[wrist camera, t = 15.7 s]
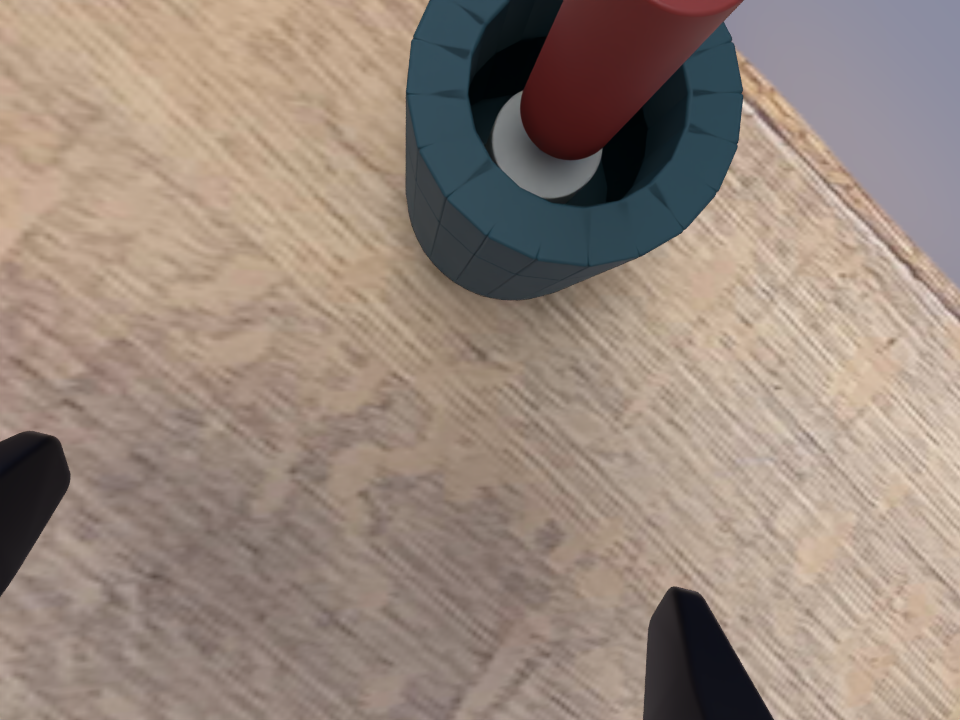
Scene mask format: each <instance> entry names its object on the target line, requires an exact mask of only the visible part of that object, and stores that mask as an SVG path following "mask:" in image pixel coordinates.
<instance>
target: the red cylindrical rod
mask: <svg viewBox="0 0 960 720" xmlns="http://www.w3.org/2000/svg"><path fill="white" fill-rule="evenodd" d="M742 2H743V0H563V2H562V5H561V7H560V9H559V11H558V14H557V16H556V18H555V20H554V23H553V25H552V27H551V29H550V32H549V34H548V36H547V38H546V40H545V43H544V45H543V47H542V49H541V52H540V54H539V56H538V58H537V61H536V63H535V65H534V67H533V70H532V72H531V74H530V76H529V79H528V81H527V83H526V85H525V87H524V90H523V91H521V92H519V93H517V94H516V95H514V96H513V97H511V98H510V99H509V100H508V101H507V102H506V103H505V104H504V106H503V107H502V108H501V110H500V111H499V113H498V115H497V117H496V119H495V122H494V125H493V127H492V130H491V132H490V135H489V138H488V140H487V143H486V145H485V148H486V150H487V152H488V153H489V155H490V157H491V159H492V161H493V162H494V163H495V164H496V165H497V166H498V167H499V168H500V169H501V170H502V171H504V172H505V173H506V174H507V175H508V176H509V177H510V178H511V179H512V180H513V181H514V182H515V183H516V184H517V185H518V186H519V187H521V188H523V189H525V190H527V191H529V192H531V193H533V194H535V195H537V196H539V197H541V198H543V199H546V200H548V201H550V202H552V203H560V204H566V203H567V202H568V201H569V200H570V199H571V198H572V197H573V196H574V195H575V194H576V193H577V192H578V191H579V190H580V189H581V188H583V187H584V186H585V185H586V184H587V183H588V182H589V180H590V179H591V178H592V177H593V175H594V174H595V172H596V170H597V168H598V166H599V163H600V160H601V156H602V148H603V147H604V146H605V145H606V144H607V143H608V142H609V141H610V140H611V139H612V138H613V137H614V136H615V134H616V133H617V132H618V131H619V130H620V129H621V128H622V127H623V126H624V125H625V124H626V123H627V122H628V121H629V120H630V119H631V118H632V117H633V116H634V115H635V114H636V113H637V111H638V110H639V109H640V108H641V107H642V106H643V105H644V104H645V103H646V102H647V101H648V100H649V99H650V98H651V97H652V96H653V95H654V94H655V93H656V92H657V91H658V89H659V88H660V87H661V86H662V85H663V84H664V83H665V82H666V81H667V80H668V79H669V78H670V77H671V76H672V75H673V74H674V73H675V72H676V71H677V70H678V69H679V67H680V66H681V65H682V64H683V63H684V62H685V61H686V60H687V59H688V58H689V57H690V56H691V55H692V54H693V53H694V52H695V51H696V50H697V49H698V48H699V47H700V46H701V44H702V43H703V42H704V41H705V40H706V39H707V38H708V37H709V36H710V35H711V34H712V33H713V32H714V31H715V30H716V29H717V28H718V27H719V26H720V25H721V24H722V22H723V21H724V20H725V19H726V18H727V17H728V16H729V15H730V14H731V13H732V12H733V11H734V10H735V9H736V8H737V7H738V6H739V5H740V3H742Z"/></svg>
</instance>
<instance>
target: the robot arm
mask: <svg viewBox="0 0 960 720" xmlns="http://www.w3.org/2000/svg"><path fill="white" fill-rule="evenodd" d="M69 484H70V471H69V467H68V464H67V461H66V458H65V455H64V452H63V448H62V445H61V443H60V441H59V440H58V439H57V438H56V437H54V436H51V435H47V434H43V433H39V432H35V431H26V432H22V433H19V434H17V435H14V436H12V437H10V438H8V439H5V440H3V441H1V442H0V596H1V595H2V594H3V592H4V591H5V589H6V588H7V587H8V585H9V584H10V582H11V581H12V579H13V578H14V576H15V575H16V573H17V572H18V570H19V569H20V567H21V565H22V564H23V562H24V560H25V559H26V557H27V555H28V554H29V552H30V551H31V549H32V547H33V546H34V544H35V542H36V541H37V539H38V537H39V536H40V534H41V532H42V531H43V529H44V528H45V526H46V524H47V523H48V521H49V519H50V518H51V516H52V514H53V513H54V511H55V509H56V508H57V506H58V504H59V503H60V501H61V500H62V498H63V496H64V495H65V493H66V491H67V489H68V487H69ZM643 720H774V719H773V717H772V715H771V714H770V712H769V710H768V708H767V707H766V705H765V703H764V701H763V700H762V698H761V696H760V695H759V693H758V691H757V689H756V688H755V686H754V684H753V682H752V681H751V679H750V677H749V675H748V674H747V672H746V670H745V669H744V667H743V665H742V663H741V662H740V660H739V658H738V656H737V655H736V653H735V651H734V649H733V648H732V646H731V644H730V642H729V641H728V639H727V637H726V636H725V634H724V632H723V630H722V629H721V627H720V625H719V623H718V622H717V620H716V618H715V616H714V615H713V613H712V611H711V610H710V608H709V606H708V604H707V603H706V601H705V599H704V598H703V597H702V595H700V594H699V593H698V592H696V591H692V590H688V589H684V588H679V587H671V588H669V589H668V591H667V592H666V594H665V595H664V597H663V599H662V600H661V602H660V604H659V605H658V607H657V609H656V610H655V612H654V614H653V615H652V617H651V620H650V623H649V628H648V640H647V658H646V676H645V694H644V712H643Z"/></svg>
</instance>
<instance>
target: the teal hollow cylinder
mask: <svg viewBox="0 0 960 720" xmlns="http://www.w3.org/2000/svg"><path fill="white" fill-rule="evenodd" d="M562 2H563V0H430V1H429V3H428V5H427V7H426V10H425V12H424V14H423V16H422V18H421V20H420V23H419V25H418V27H417V29H416V31H415V34H414V36H413V39H412V41H411V50H410V59H409V68H408V78H407V87H406V197H407V204H408V212H409V216H410V220H411V224H412V227H413V230H414V232H415V235H416V237H417V239H418V241H419V243H420V245H421V247H422V249H423V250H424V252H425V253H426V255H427V256H428V257H429V259H430V260H431V261H432V263H433V264H434V265H435V266H436V267H437V268H438V269H439V270H440V271H441V272H442V273H443V274H445V275H446V276H447V277H448V278H449V279H451V280H452V281H453V282H455V283H457V284H458V285H460V286H462V287H463V288H465V289H467V290H469V291H472V292H474V293H476V294H479V295H482V296H486V297H489V298H495V299H501V300H524V299H532V298H536V297H540V296H544V295H546V294H551V293H554V292H557V291H559V290H562V289H564V288H566V287H569V286H571V285H574V284H576V283H578V282H581V281H583V280H586V279H588V278H590V277H593V276H595V275H598V274H600V273H602V272H605V271H607V270H610V269H612V268H614V267H617V266H619V265H622V264H624V263H626V262H629V261H631V260H634V259H636V258H638V257H641V256H643V255H645V254H646V253H648V252H650V251H652V250H653V249H655V248H657V247H658V246H660V245H662V244H664V243H665V242H667V241H669V240H671V239H672V238H674V237H676V236H677V235H679V234H681V233H682V232H683V230H685V229H686V228H687V227H688V226H689V225H690V224H691V223H692V222H693V221H694V219H695V218H696V217H697V216H698V215H699V214H700V213H701V211H702V210H703V209H704V208H705V207H706V206H707V205H708V204H709V202H710V201H711V200H712V199H713V198H714V197H715V195H716V193H717V192H718V191H719V189H720V187H721V185H722V182H723V180H724V178H725V175H726V173H727V171H728V169H729V166H730V164H731V162H732V159H733V157H734V155H735V152H736V150H737V147H738V146H737V143H738V141H739V131H740V122H741V112H742V102H743V95H742V94H741V93H742V92H743V87H742V82H741V77H740V72H739V67H738V61H737V56H736V51H735V46H734V43H732V42H731V41H732V37H731V35H730V33H729V31H728V29H727V27H726V26H725V23H724V22H722V24H721V25H720V26H719V27H718V28H717V29H716V30H715V31H714V32H713V33H712V34H711V35H710V36H709V37H708V38H707V39H706V40H705V41H704V42H703V43H702V44H701V46H700V47H699V48H698V49H697V50H696V51H695V52H694V53H693V54H692V55H691V56H690V57H689V58H688V59H687V60H686V61H685V62H684V63H683V64H682V65H681V66H680V67H679V69H678V70H677V71H676V72H675V73H674V74H673V75H672V76H671V77H670V78H669V79H668V80H667V81H666V82H665V83H664V84H663V85H662V86H661V87H660V88H659V89H658V91H657V92H656V93H655V94H654V95H653V96H652V97H651V98H650V99H649V100H648V101H647V102H646V103H645V104H644V105H643V106H642V107H641V108H640V109H639V110H638V111H637V113H636V114H635V115H634V116H633V117H632V118H631V119H630V120H629V121H628V122H627V123H626V124H625V125H624V126H623V127H622V128H621V129H620V130H619V131H618V132H617V133H616V134H615V136H614V137H613V138H612V139H611V140H610V141H609V142H608V143H607V144H606V145H605V146H604V147H603V148H602V156H601V160H600V163H599V166H598V168H597V170H596V172H595V174H594V175H593V177H592V178H591V179H590V180H589V182H588V183H587V184H586V185H585V186H584V187H583V188H581V189H580V190H579V191H578V192H577V193H576V194H575V195H574V196H573V197H572V198H571V199H570V200H569V201H568V202H567V203H566V204H560V203H552V202H550V201H548V200H546V199H543V198H541V197H539V196H537V195H535V194H533V193H531V192H529V191H527V190H525V189H523V188H521V187H519V186H518V185H517V184H516V183H515V182H514V181H513V180H512V179H511V178H510V177H509V176H508V175H507V174H506V173H505V172H504V171H502V170H501V169H500V168H499V167H498V166H497V165H496V164H495V163H494V162H493V161H492V159H491V157H490V155H489V153H488V152H487V150H486V148H485V145H486V143H487V140H488V138H489V135H490V132H491V130H492V127H493V125H494V122H495V119H496V117H497V115H498V113H499V111H500V110H501V108H502V107H503V106H504V104H505V103H506V102H507V101H508V100H509V99H510V98H511V97H513V96H514V95H516V94H517V93H519V92H521V91H523V90H524V87H525V85H526V83H527V81H528V79H529V76H530V74H531V72H532V70H533V67H534V65H535V63H536V61H537V58H538V56H539V54H540V52H541V49H542V47H543V45H544V43H545V40H546V38H547V36H548V34H549V32H550V29H551V27H552V25H553V23H554V20H555V18H556V16H557V14H558V11H559V9H560V7H561V5H562Z"/></svg>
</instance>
